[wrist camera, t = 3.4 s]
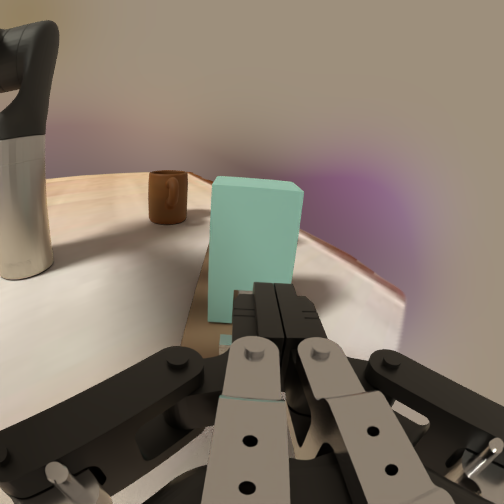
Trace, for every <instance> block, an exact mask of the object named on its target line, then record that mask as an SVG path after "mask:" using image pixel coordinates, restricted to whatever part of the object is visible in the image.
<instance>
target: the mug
mask: <svg viewBox="0 0 504 504" xmlns="http://www.w3.org/2000/svg"><path fill="white" fill-rule="evenodd" d="M187 176H188V175H187V172H184V171H175V170H162V171H153V172H150V173H149V192H148V200H149V219H150V221H152V222H154V223H157V224H177V223H181V222H183V221H184V220H185V219H186V215H187V190H188V177H187Z"/></svg>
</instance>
